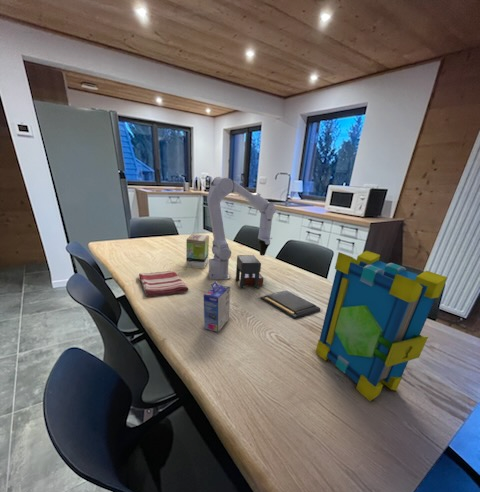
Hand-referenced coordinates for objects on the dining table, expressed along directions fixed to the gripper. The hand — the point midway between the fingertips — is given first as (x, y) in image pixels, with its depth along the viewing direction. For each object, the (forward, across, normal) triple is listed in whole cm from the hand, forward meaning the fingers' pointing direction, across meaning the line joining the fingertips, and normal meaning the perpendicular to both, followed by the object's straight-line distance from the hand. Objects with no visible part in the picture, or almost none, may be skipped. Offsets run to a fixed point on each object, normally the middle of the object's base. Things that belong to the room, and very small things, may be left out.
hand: (262, 255), depth 135 cm
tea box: (+10, +14, +32) cm, 36 cm away
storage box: (+9, -16, +8) cm, 20 cm away
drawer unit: (+9, -16, +11) cm, 21 cm away
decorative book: (+10, -78, -5) cm, 79 cm away
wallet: (+10, -38, -2) cm, 39 cm away
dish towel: (+10, -16, +49) cm, 52 cm away
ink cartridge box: (+10, -51, +29) cm, 59 cm away
